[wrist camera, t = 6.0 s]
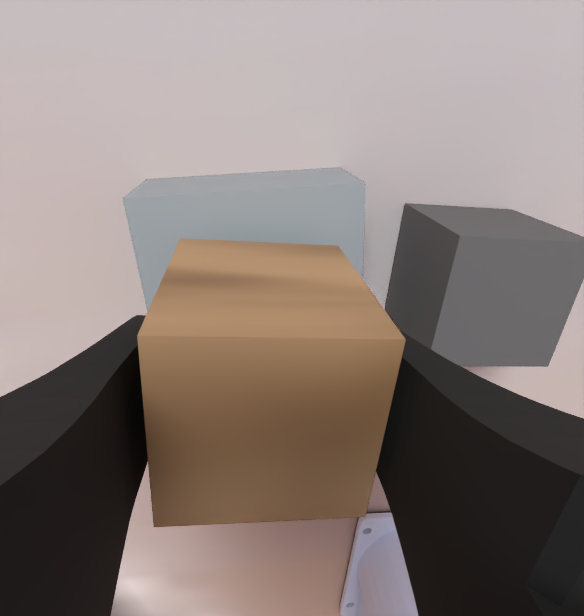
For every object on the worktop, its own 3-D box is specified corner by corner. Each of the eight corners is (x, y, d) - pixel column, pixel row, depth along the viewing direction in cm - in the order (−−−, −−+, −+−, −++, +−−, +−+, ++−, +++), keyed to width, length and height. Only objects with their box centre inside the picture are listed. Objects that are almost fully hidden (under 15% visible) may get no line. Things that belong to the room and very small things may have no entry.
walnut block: (320, 373, 14) (365, 517, 9) (184, 373, 13) (153, 527, 9) (338, 245, 12) (405, 339, 7) (180, 238, 12) (136, 336, 7)
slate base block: (338, 331, 19) (358, 377, 15) (179, 346, 18) (166, 397, 15) (339, 167, 15) (365, 182, 12) (147, 178, 15) (122, 198, 12)
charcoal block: (481, 310, 19) (547, 366, 15) (385, 308, 18) (426, 366, 14) (512, 209, 17) (598, 242, 13) (405, 203, 16) (460, 235, 12)
